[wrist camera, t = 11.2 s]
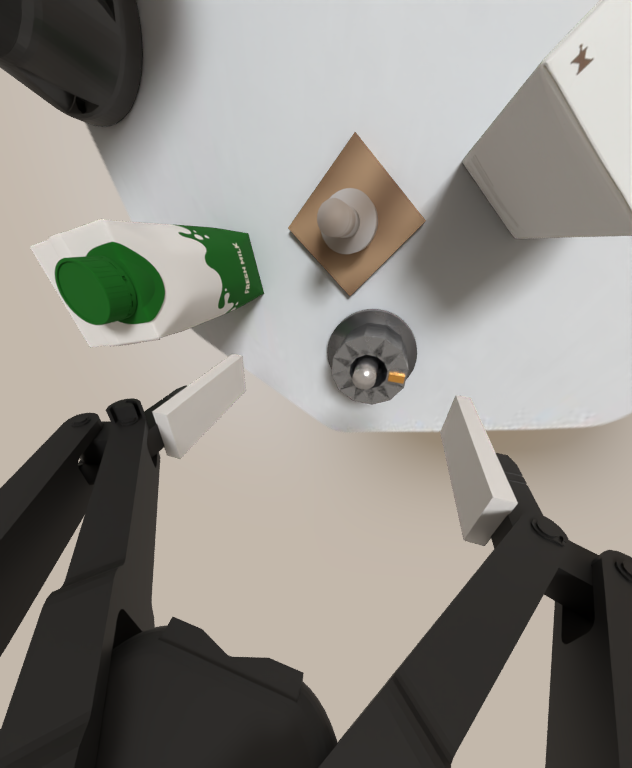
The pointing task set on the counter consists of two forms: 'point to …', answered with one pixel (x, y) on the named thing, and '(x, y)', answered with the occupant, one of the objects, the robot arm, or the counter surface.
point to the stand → (355, 217)
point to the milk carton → (147, 277)
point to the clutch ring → (373, 343)
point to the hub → (367, 363)
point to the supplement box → (567, 137)
